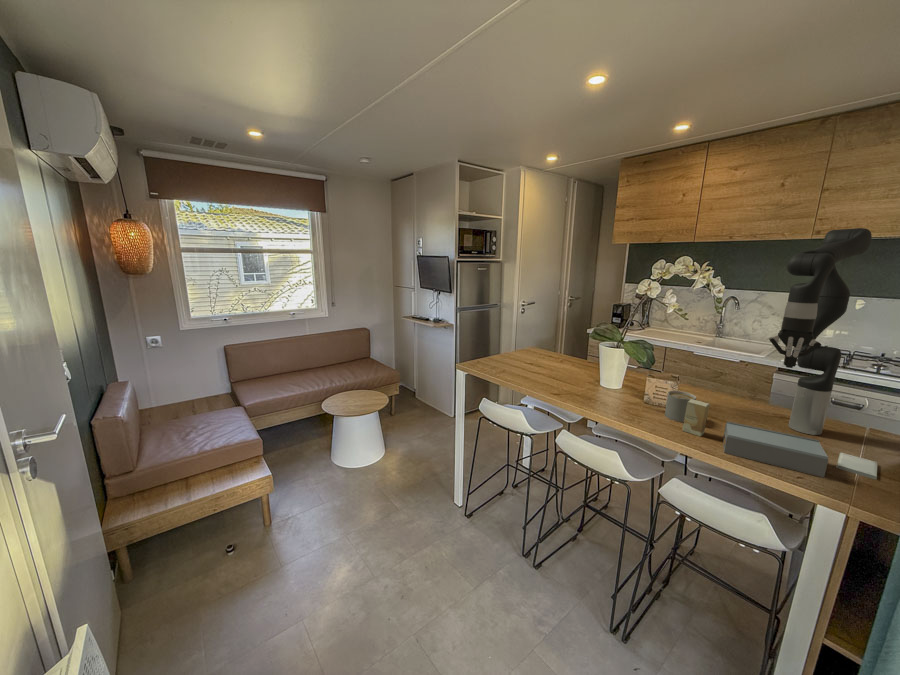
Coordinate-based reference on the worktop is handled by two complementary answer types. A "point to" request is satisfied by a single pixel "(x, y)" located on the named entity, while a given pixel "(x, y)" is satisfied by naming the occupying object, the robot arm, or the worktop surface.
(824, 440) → the worktop surface
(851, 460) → the hard drive
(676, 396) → the coffee mug
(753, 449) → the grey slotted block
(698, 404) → the skincare box
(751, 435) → the cover
